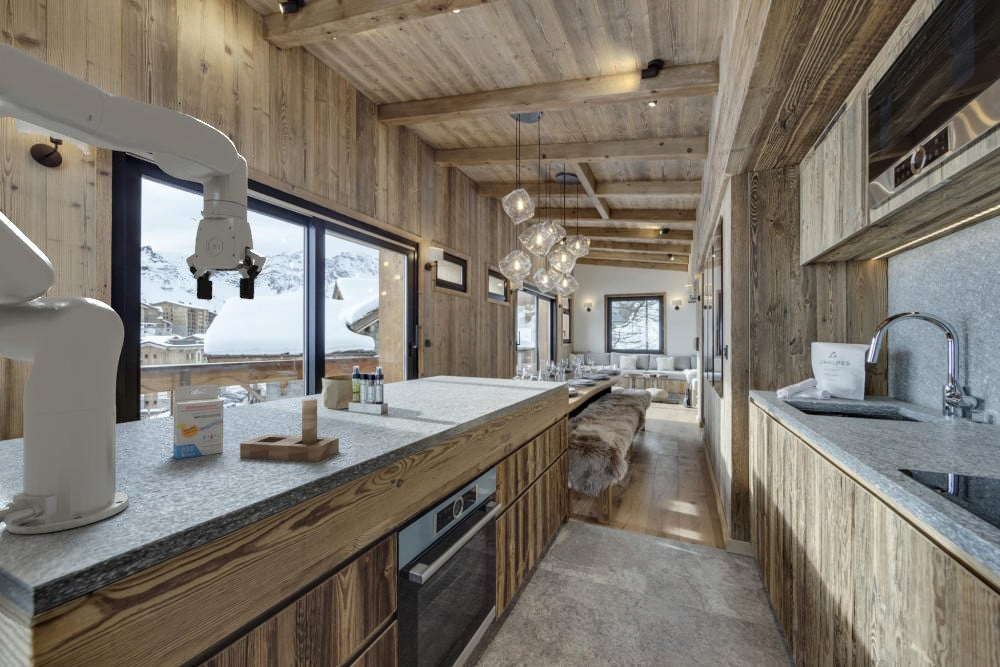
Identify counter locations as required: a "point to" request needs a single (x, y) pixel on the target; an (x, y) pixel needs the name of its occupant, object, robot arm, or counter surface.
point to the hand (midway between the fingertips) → (225, 299)
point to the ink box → (197, 422)
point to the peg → (309, 421)
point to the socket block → (288, 448)
